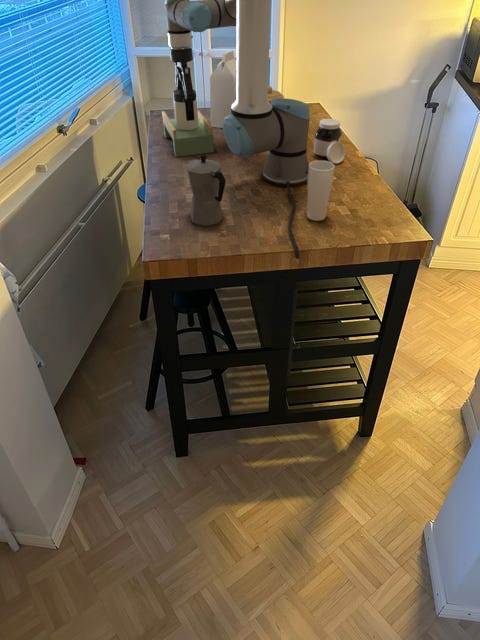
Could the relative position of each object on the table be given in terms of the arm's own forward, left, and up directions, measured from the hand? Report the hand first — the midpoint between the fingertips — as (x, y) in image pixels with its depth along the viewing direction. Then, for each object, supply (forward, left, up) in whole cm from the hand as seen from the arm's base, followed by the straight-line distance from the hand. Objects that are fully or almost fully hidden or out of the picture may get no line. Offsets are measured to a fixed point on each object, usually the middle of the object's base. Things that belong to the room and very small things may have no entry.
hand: (186, 114), depth 170 cm
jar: (0, 0, -4) cm, 5 cm away
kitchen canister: (-1, -31, -11) cm, 33 cm away
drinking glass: (-67, -22, -11) cm, 71 cm away
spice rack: (0, 0, -10) cm, 11 cm away
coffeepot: (-59, +7, -11) cm, 60 cm away
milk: (+17, -21, -11) cm, 29 cm away
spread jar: (-29, -44, -11) cm, 54 cm away
